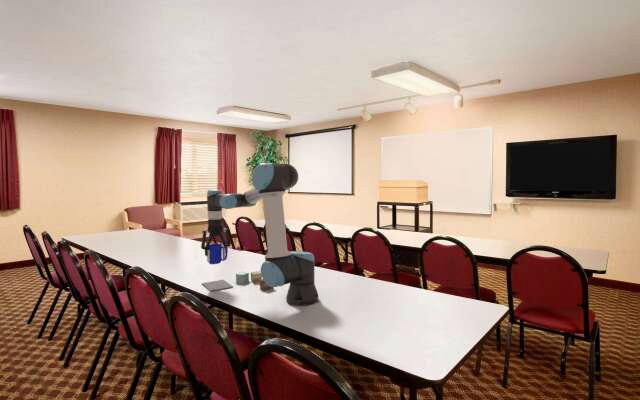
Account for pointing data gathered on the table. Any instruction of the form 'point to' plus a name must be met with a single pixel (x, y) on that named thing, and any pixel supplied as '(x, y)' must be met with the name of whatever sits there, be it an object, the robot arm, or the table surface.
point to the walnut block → (264, 285)
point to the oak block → (256, 276)
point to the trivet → (217, 285)
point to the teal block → (242, 277)
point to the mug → (216, 253)
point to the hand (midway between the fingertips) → (216, 260)
